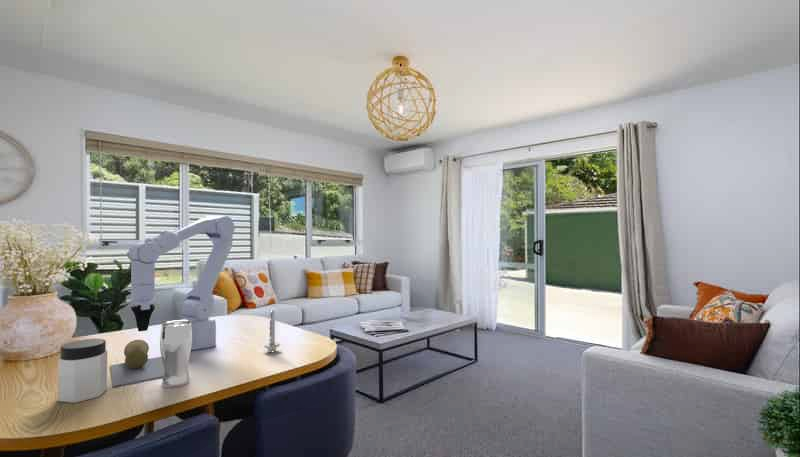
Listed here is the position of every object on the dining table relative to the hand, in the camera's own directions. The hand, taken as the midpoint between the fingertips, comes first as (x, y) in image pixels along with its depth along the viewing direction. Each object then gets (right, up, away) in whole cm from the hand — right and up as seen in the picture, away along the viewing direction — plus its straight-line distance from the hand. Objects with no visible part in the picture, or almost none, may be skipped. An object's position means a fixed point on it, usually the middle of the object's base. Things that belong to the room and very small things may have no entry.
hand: (142, 330), depth 112 cm
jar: (+2, -9, -23) cm, 25 cm away
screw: (+35, -9, +10) cm, 37 cm away
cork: (-2, -6, +1) cm, 6 cm away
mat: (+6, -9, -7) cm, 13 cm away
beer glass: (+19, -9, -16) cm, 26 cm away
